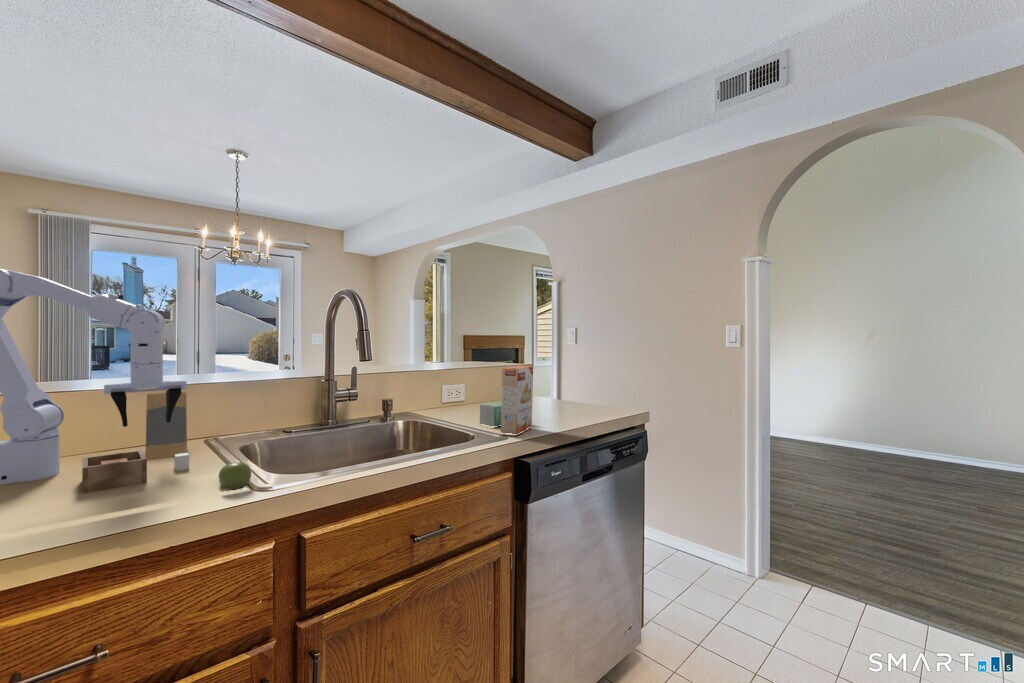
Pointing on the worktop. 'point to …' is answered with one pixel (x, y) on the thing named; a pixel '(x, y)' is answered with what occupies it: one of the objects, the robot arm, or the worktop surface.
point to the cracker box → (516, 399)
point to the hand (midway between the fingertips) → (147, 423)
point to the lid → (181, 461)
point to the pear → (235, 475)
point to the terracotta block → (113, 461)
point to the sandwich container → (165, 427)
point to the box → (490, 414)
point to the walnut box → (113, 471)
